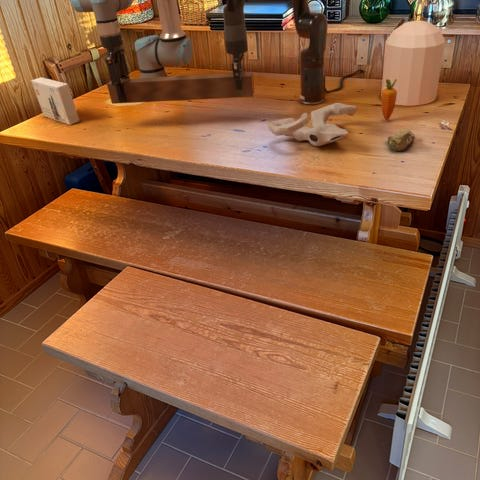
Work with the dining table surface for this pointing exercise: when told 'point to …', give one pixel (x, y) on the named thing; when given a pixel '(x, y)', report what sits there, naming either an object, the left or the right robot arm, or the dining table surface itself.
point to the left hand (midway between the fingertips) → (125, 99)
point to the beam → (183, 88)
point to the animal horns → (314, 125)
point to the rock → (400, 140)
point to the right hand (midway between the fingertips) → (240, 87)
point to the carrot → (388, 99)
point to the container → (414, 62)
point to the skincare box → (55, 100)
